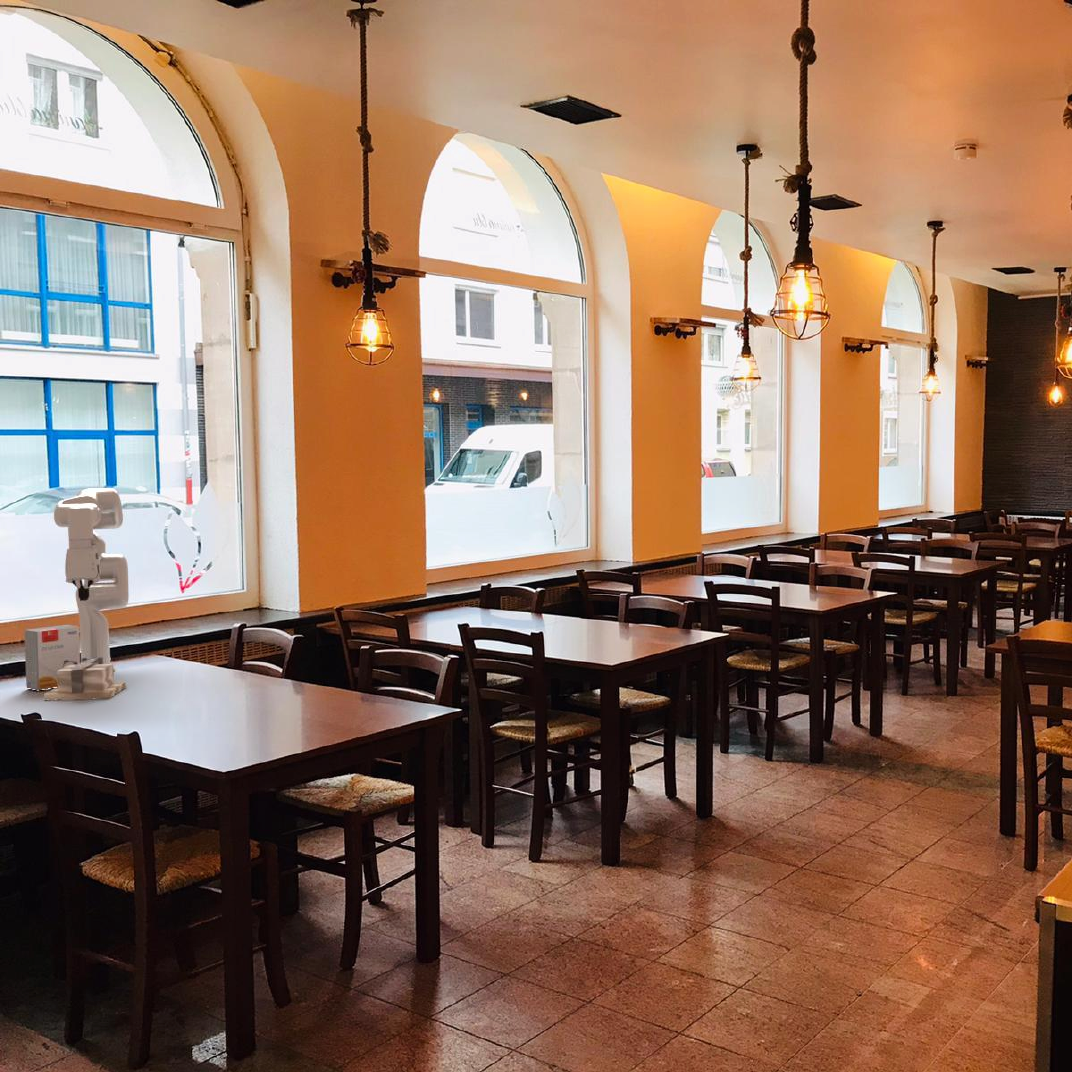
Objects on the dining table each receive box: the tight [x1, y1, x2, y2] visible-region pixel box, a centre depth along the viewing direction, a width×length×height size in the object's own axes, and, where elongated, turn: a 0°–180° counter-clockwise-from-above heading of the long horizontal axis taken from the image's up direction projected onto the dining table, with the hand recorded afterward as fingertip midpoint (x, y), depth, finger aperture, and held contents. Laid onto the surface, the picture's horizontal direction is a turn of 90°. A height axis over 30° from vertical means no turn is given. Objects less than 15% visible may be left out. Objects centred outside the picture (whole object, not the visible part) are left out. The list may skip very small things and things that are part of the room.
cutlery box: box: [43, 657, 127, 701], centre depth 364 cm, size 17×20×10 cm
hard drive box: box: [23, 624, 81, 690], centre depth 376 cm, size 16×8×20 cm, turn 143°
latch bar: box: [71, 659, 98, 670], centre depth 363 cm, size 16×3×1 cm, turn 3°
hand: (84, 600), depth 369 cm, fingers closed
